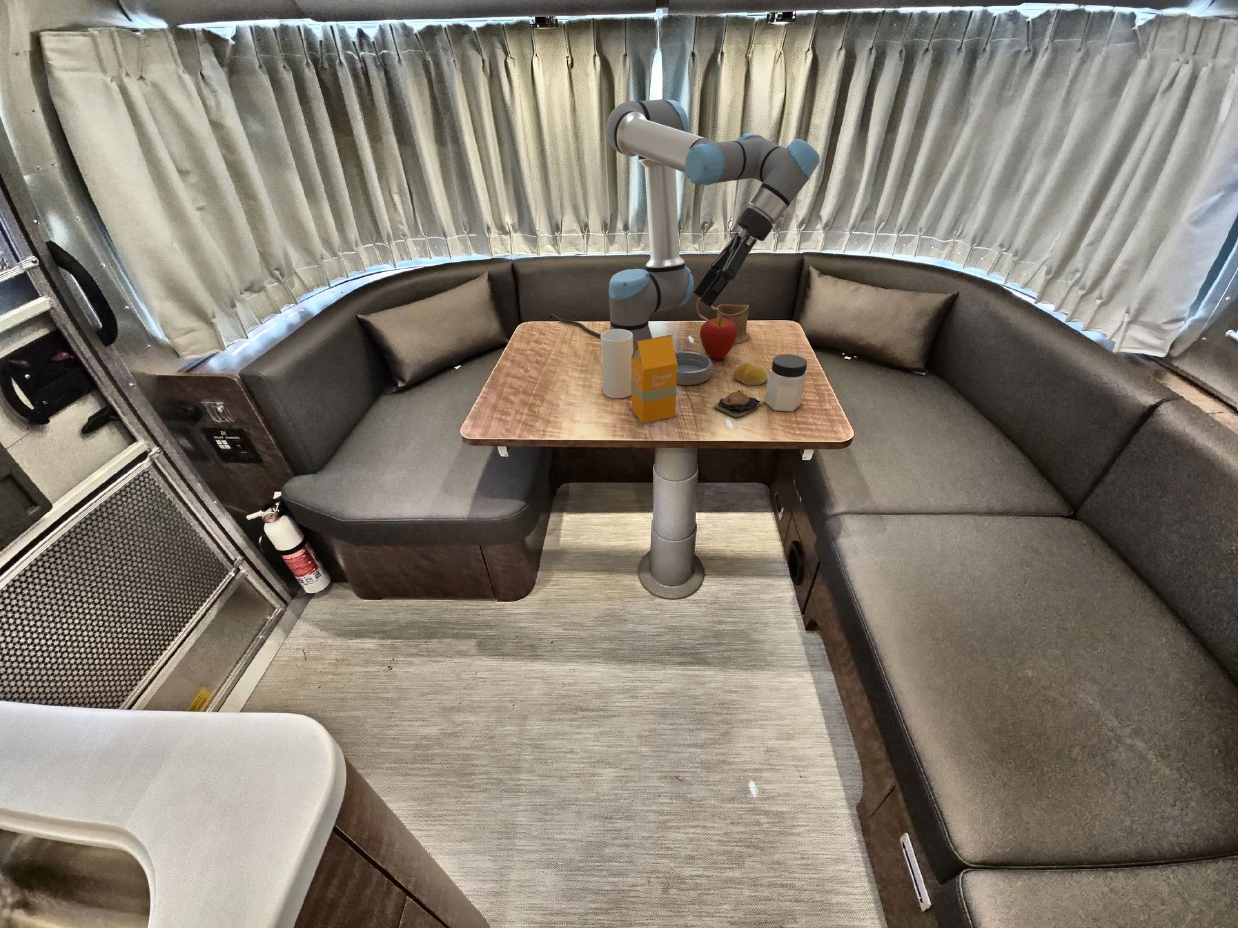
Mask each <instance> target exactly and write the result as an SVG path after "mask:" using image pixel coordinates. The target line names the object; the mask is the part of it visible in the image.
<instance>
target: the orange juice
mask: <svg viewBox="0 0 1238 928" xmlns="http://www.w3.org/2000/svg"><path fill="white" fill-rule="evenodd" d="M675 353H676V352H675V347H674V342H673V337H672V334H668V335H663V336H657V337H652V338H650V339H644V340H639V341H637V343H636V346H635V348H634V351H633V354H632V357H631V389H632V394H631V411H632V412H633V413H634V414H635V416H636V417H637V418H638V419H639V420H640V422H641V423H642V424H648V423H652V422H656V421H662V420H666V419H671V418H675V417H676V404H677V403H676V402H677V386H678V384H677V360H676V355H675Z"/></svg>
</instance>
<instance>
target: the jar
mask: <svg viewBox="0 0 1238 928" xmlns="http://www.w3.org/2000/svg"><path fill="white" fill-rule="evenodd" d="M807 369H808V361H807V359H806V358H804V357H803V356H800V355H797V354H792V353H791V354H789V353H783V354H778V355H776V356H774V357H773V358H772V364H771V367H770V369H769V372H768V379H767V384H766V391H765V397H764V403H765V404H766V405H767V406H768V407H770V408H771V409H772V410H773V411H777V412H779V411H780V412H794V411H796V409H797V408H798V407H800V406H801V404H802V399H803V396H804V395H803V394H804V390H805V385H806V379H807V376H808V375H807V374H808V371H807Z"/></svg>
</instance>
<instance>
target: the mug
mask: <svg viewBox="0 0 1238 928" xmlns="http://www.w3.org/2000/svg"><path fill="white" fill-rule="evenodd" d="M700 299H701V298H700V297H699V298H698V299H697V300H696V303H695V304H696V305H695V309H696V314H697V315H698V317H699V318H701V319H702V320H704V321H705V322H707V321H708V320H709V318H707V317H706V316H704V315H702V314H701V312H700V310H699V301H701V300H700ZM710 308H711V309H712V310H713V311H716V318H725V319H728V320H730V321H732V322H734V323H735V325H736V326H737V328H738V333H737V338H736V340H735V342H734V345H737V344H742V343H745V342H747V340H748V339H749V334H748V332H747V326H748V318H749V317H748V316H749V310H750V305H749V304H729V303H726V304H725V303H722V304H719V305H717V307H714V306H713V305H712V306H711V307H710Z"/></svg>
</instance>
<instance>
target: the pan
mask: <svg viewBox="0 0 1238 928" xmlns="http://www.w3.org/2000/svg"><path fill="white" fill-rule="evenodd" d="M675 355H676V360H677V384H676V385H678V386H679V385H680V386H696V385H700V384H702V383H705V382H706V381H707V380H709V379H710V378H711V377H712V371H713V362H712V360H711V359H712V358H711V357H709V356H708V355H705V354H703V353H699V352H694V351H676V352H675Z"/></svg>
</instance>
